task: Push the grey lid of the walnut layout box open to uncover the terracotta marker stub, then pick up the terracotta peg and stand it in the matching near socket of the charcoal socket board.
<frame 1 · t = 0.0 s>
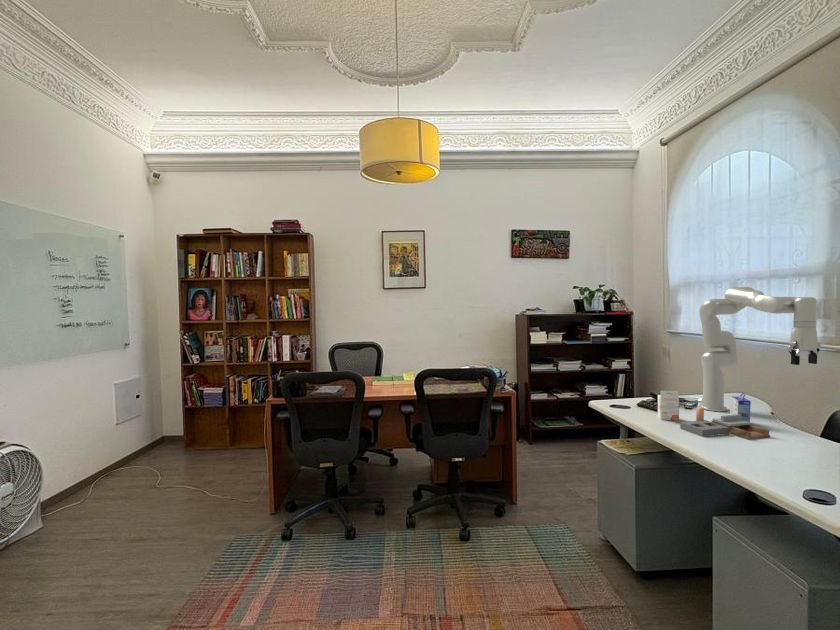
hand: (803, 364, 189), 31 cm above the table, tool pointing down, fingers open, 9 cm apart
peg: (699, 424, 206), on the table
layout box: (739, 432, 194), on the table
socket board: (703, 431, 196), on the table
ink cartridge box 2: (668, 419, 216), on the table
lid: (731, 419, 198), point 5 cm above the table, slide at 0.0 cm
ink cartridge box: (739, 423, 208), on the table
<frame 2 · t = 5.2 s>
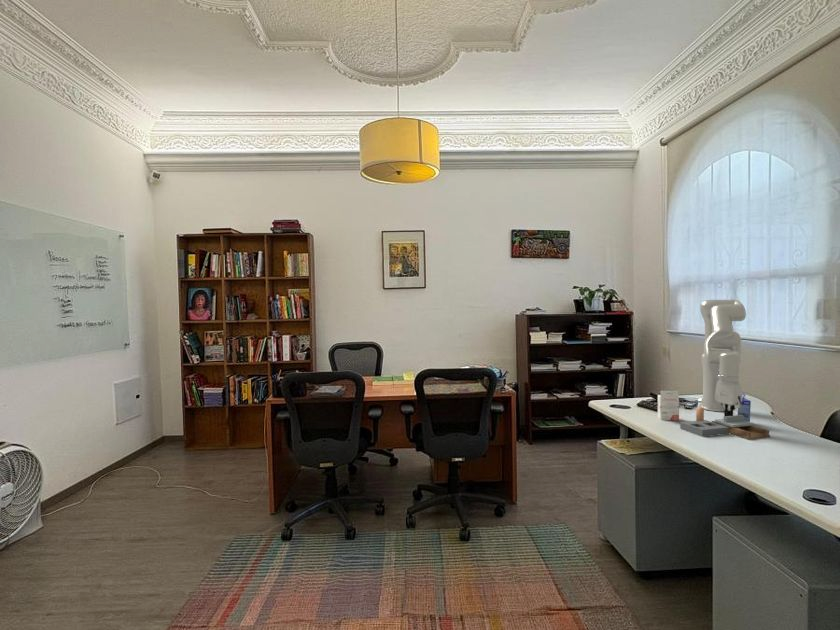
hand: (728, 418, 199), 5 cm above the table, tool pointing down, fingers closed
lid: (733, 419, 196), point 5 cm above the table, slide at 1.3 cm, touching gripper
everything else where it was.
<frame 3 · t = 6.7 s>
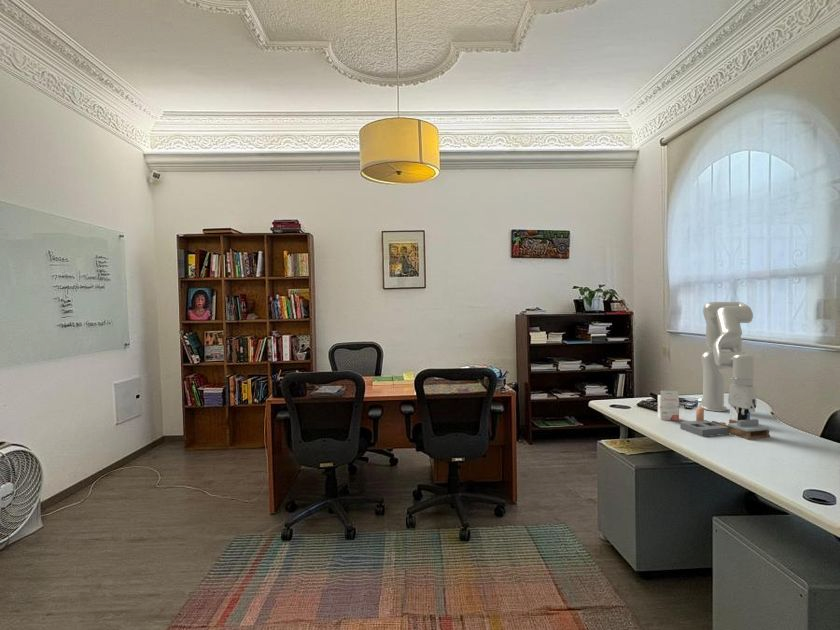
hand: (742, 422, 192), 5 cm above the table, tool pointing down, fingers closed
lid: (747, 423, 190), point 5 cm above the table, slide at 8.0 cm, touching gripper
everything else where it was.
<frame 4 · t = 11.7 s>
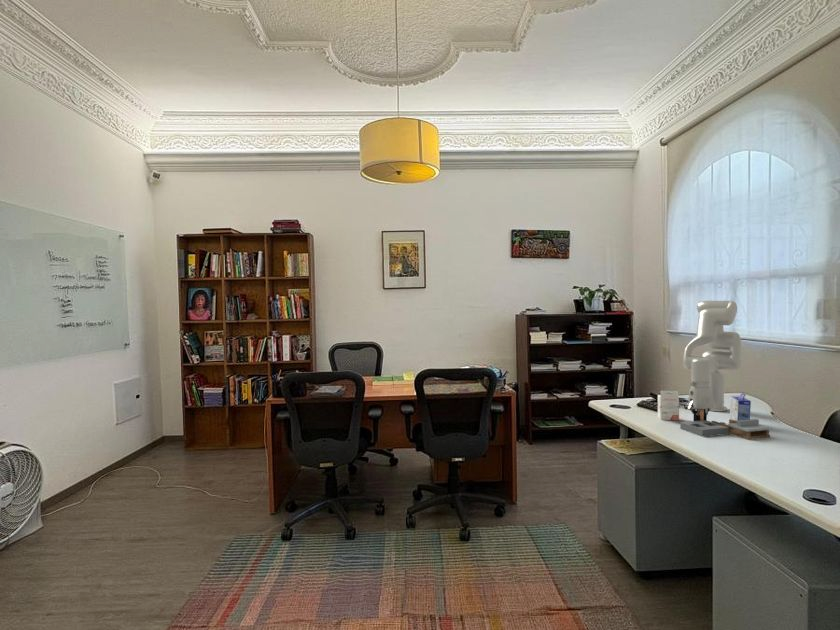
hand: (699, 422, 206), 1 cm above the table, tool pointing down, fingers closed on peg, 3 cm apart
peg: (699, 424, 206), on the table, touching gripper
lid: (748, 423, 190), point 5 cm above the table, slide at 8.1 cm
everything else where it was.
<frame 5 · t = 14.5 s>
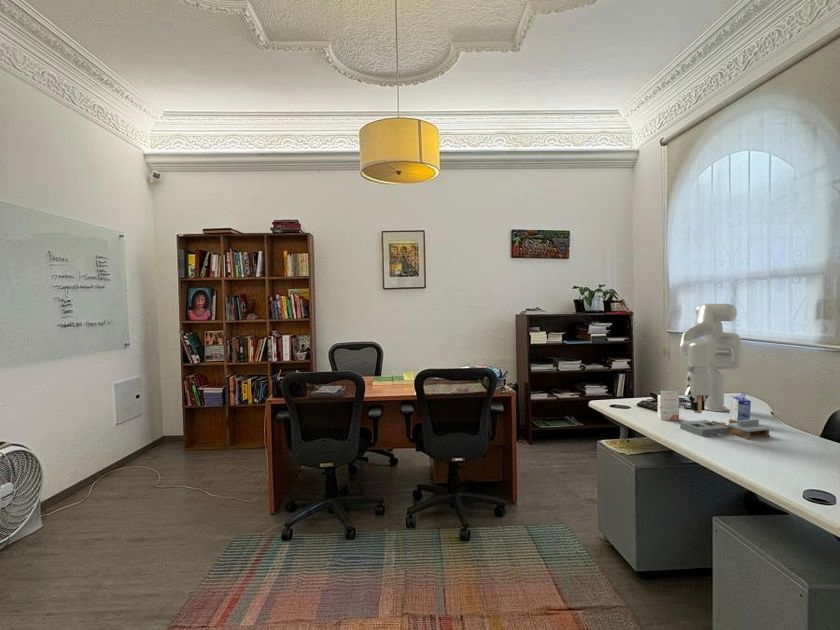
hand: (697, 409, 195), 10 cm above the table, tool pointing down, fingers closed on peg, 3 cm apart
peg: (697, 412, 195), point 9 cm above the table, touching gripper
everything else where it was.
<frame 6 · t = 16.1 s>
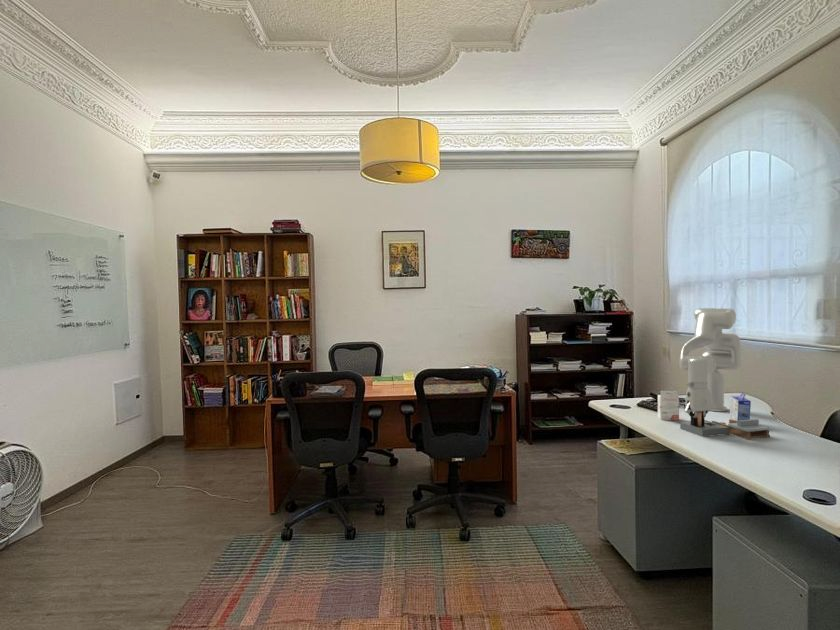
hand: (697, 425, 195), 3 cm above the table, tool pointing down, fingers closed on peg, 3 cm apart
peg: (697, 427, 195), point 2 cm above the table, touching gripper
everything else where it was.
when the fingers open (3 cm above the table, at t = 17.4 s): peg drops 2 cm, resting in socket board.
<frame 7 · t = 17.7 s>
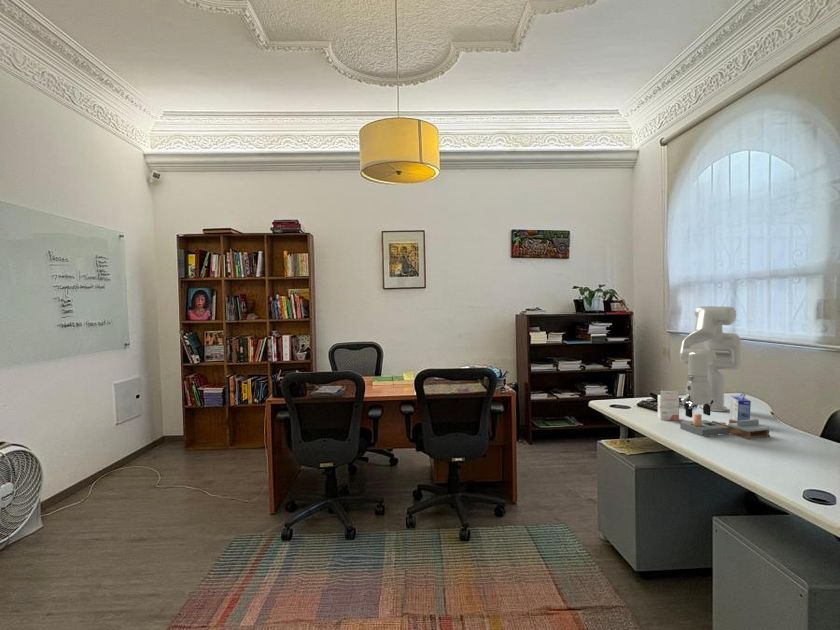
hand: (697, 415, 196), 7 cm above the table, tool pointing down, fingers open, 9 cm apart
peg: (697, 432, 195), resting in socket board
everything else where it was.
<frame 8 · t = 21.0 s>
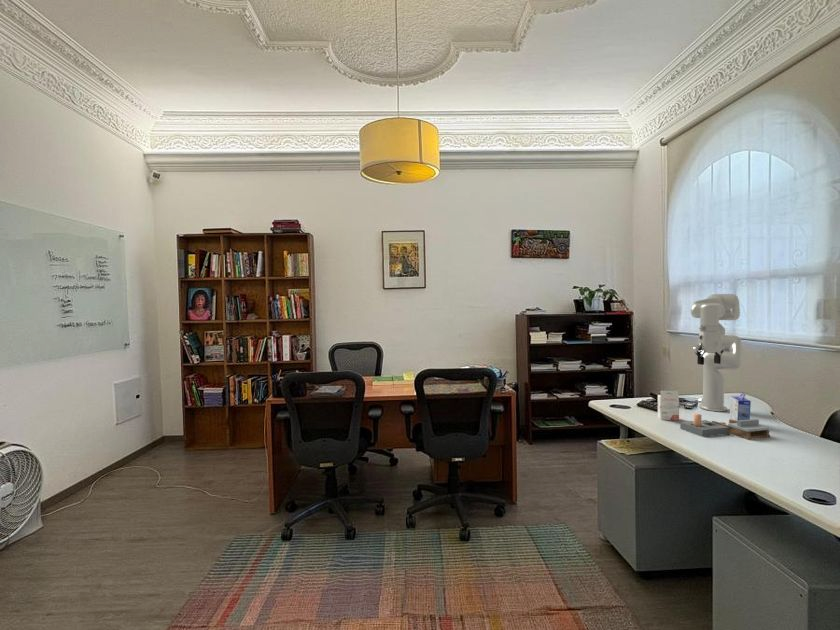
hand: (708, 363, 211), 28 cm above the table, tool pointing down, fingers open, 9 cm apart
nothing on the table moved.
at the end: lid slide at 8.1 cm; peg 0.1 cm from the target spot on the socket board, point 0.0 cm above the socket board's base; peg tilted 0° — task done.
